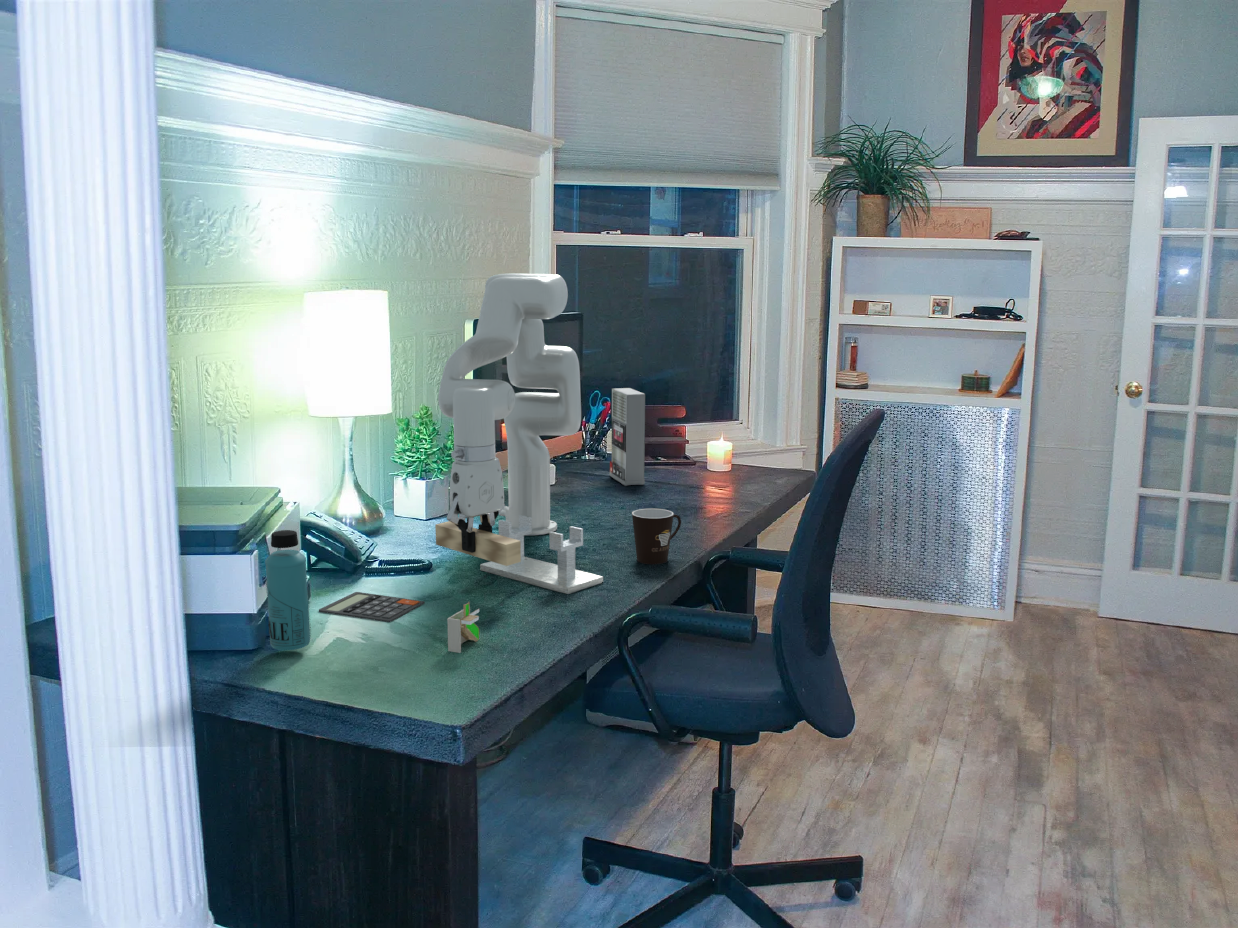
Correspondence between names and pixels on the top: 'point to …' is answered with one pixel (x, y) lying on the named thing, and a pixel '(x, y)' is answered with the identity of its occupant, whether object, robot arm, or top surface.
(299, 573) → the beverage bottle
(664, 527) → the coffee mug
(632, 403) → the cassette tape recorder
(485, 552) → the rail
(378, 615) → the calculator
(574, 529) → the bracket stand
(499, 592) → the top surface
